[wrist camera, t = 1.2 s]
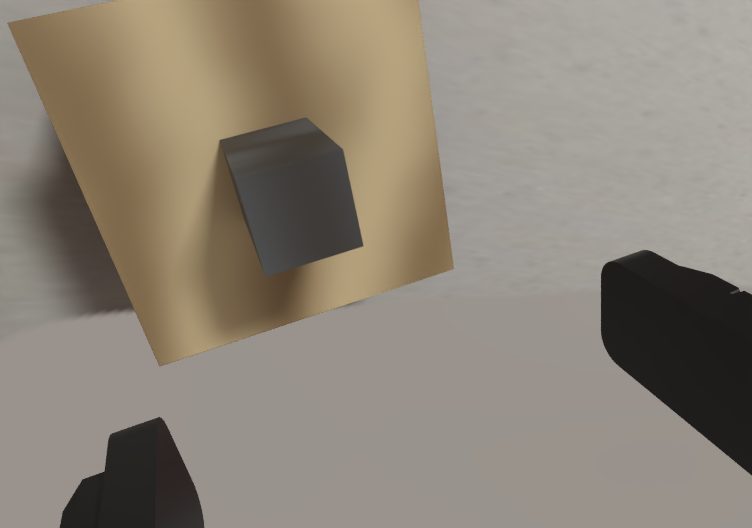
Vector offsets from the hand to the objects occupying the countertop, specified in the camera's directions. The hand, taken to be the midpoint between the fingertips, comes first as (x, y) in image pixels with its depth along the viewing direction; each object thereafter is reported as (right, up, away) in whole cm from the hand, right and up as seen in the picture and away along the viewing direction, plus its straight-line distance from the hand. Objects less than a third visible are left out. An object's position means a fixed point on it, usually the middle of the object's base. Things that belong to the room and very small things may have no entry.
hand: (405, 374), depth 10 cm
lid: (-5, +6, +12) cm, 14 cm away
